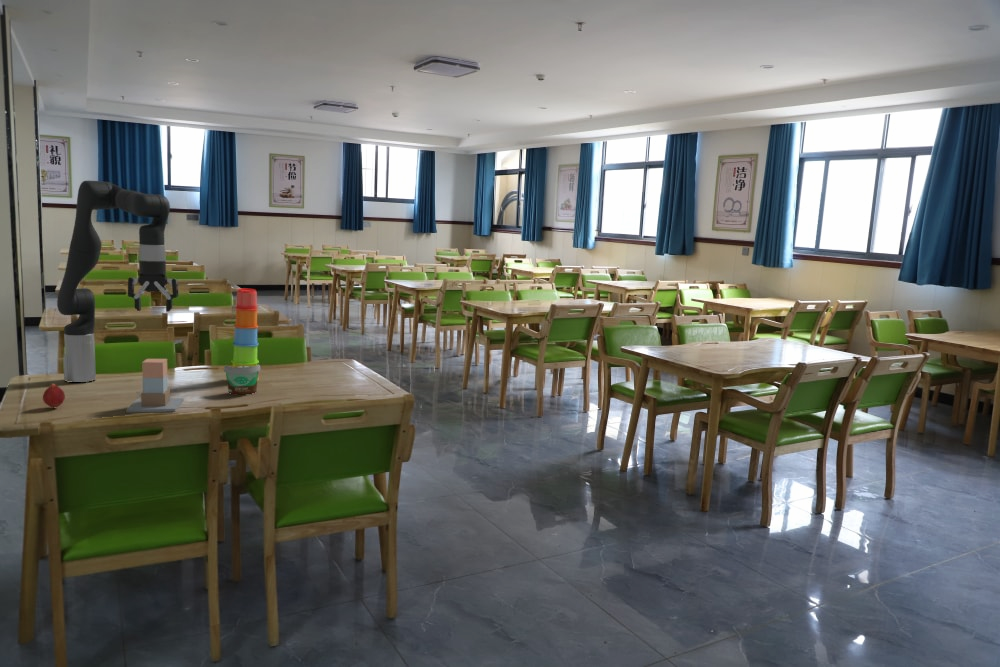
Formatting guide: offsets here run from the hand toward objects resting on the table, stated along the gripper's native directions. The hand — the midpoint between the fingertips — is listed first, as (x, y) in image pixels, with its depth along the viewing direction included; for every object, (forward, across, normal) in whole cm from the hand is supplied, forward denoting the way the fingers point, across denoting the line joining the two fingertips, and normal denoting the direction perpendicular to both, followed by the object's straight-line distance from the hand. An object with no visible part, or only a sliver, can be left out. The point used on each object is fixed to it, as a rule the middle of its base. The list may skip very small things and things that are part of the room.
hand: (153, 310), depth 231 cm
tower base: (+31, 0, 0) cm, 31 cm away
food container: (+31, +25, +16) cm, 43 cm away
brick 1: (+21, 0, 0) cm, 21 cm away
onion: (+31, -29, -1) cm, 43 cm away
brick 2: (+26, 0, 0) cm, 26 cm away
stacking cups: (+31, +23, +38) cm, 54 cm away
